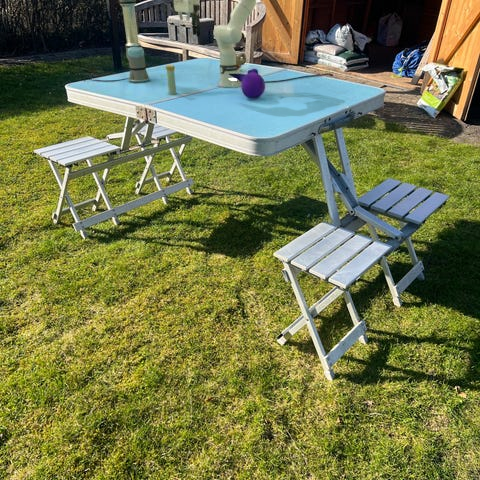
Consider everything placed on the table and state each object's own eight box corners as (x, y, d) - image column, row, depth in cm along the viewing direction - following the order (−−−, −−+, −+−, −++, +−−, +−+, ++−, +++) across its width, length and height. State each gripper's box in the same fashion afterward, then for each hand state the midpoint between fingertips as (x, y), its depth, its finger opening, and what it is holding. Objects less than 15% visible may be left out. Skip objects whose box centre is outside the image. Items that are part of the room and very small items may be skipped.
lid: (173, 69, 290) (173, 66, 289) (165, 69, 290) (164, 66, 289) (175, 68, 295) (175, 65, 294) (167, 68, 295) (166, 65, 294)
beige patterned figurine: (226, 73, 360) (225, 53, 353) (219, 71, 369) (219, 51, 361) (249, 70, 370) (249, 50, 362) (242, 68, 378) (241, 49, 371)
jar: (175, 94, 298) (172, 67, 289) (168, 94, 299) (165, 67, 290) (176, 92, 302) (174, 65, 294) (169, 92, 303) (167, 66, 294)
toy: (250, 90, 302) (265, 104, 282) (225, 86, 295) (239, 99, 274) (256, 66, 294) (272, 78, 274) (231, 61, 287) (246, 73, 266)
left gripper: (203, 5, 329) (204, 36, 339) (195, 3, 349) (197, 33, 360) (193, 5, 327) (195, 37, 338) (186, 4, 347) (188, 34, 358)
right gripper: (195, -5, 268) (196, 21, 275) (180, -6, 283) (182, 19, 290) (185, -5, 265) (187, 21, 272) (171, -5, 280) (173, 19, 287)
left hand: (196, 35), depth 349 cm, fingers open, 13 cm apart
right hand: (184, 20), depth 281 cm, fingers open, 8 cm apart
